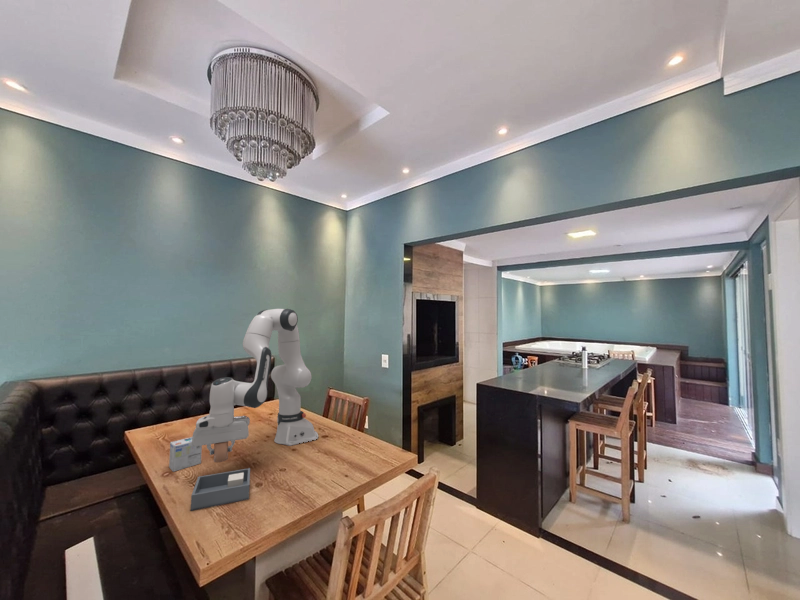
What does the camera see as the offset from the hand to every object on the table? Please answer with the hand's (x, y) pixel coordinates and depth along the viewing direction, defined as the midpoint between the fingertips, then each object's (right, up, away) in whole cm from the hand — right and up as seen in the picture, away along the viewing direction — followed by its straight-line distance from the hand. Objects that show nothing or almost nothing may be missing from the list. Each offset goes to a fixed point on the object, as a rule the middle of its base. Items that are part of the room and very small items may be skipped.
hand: (221, 452), depth 128 cm
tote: (+8, -9, -14) cm, 18 cm away
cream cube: (+12, -8, -12) cm, 19 cm away
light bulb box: (-20, -10, +8) cm, 24 cm away
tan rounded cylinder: (0, -3, 0) cm, 3 cm away
